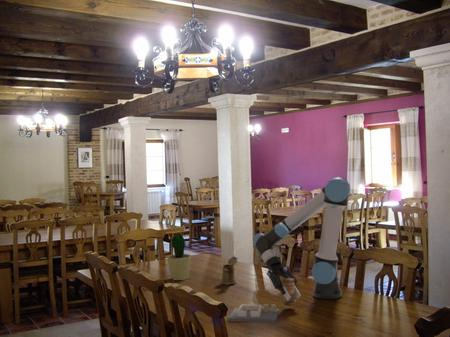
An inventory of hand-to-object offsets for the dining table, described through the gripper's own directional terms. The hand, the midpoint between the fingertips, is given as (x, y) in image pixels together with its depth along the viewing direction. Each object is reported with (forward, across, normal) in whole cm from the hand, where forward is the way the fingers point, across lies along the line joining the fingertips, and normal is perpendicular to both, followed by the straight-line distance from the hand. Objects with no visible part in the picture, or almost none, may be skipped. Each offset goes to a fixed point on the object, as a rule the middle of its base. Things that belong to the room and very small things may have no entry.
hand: (294, 297), depth 237 cm
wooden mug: (-42, -5, -50) cm, 65 cm away
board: (0, +20, -8) cm, 22 cm away
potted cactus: (-67, +11, -74) cm, 100 cm away
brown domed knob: (0, 0, -5) cm, 5 cm away
